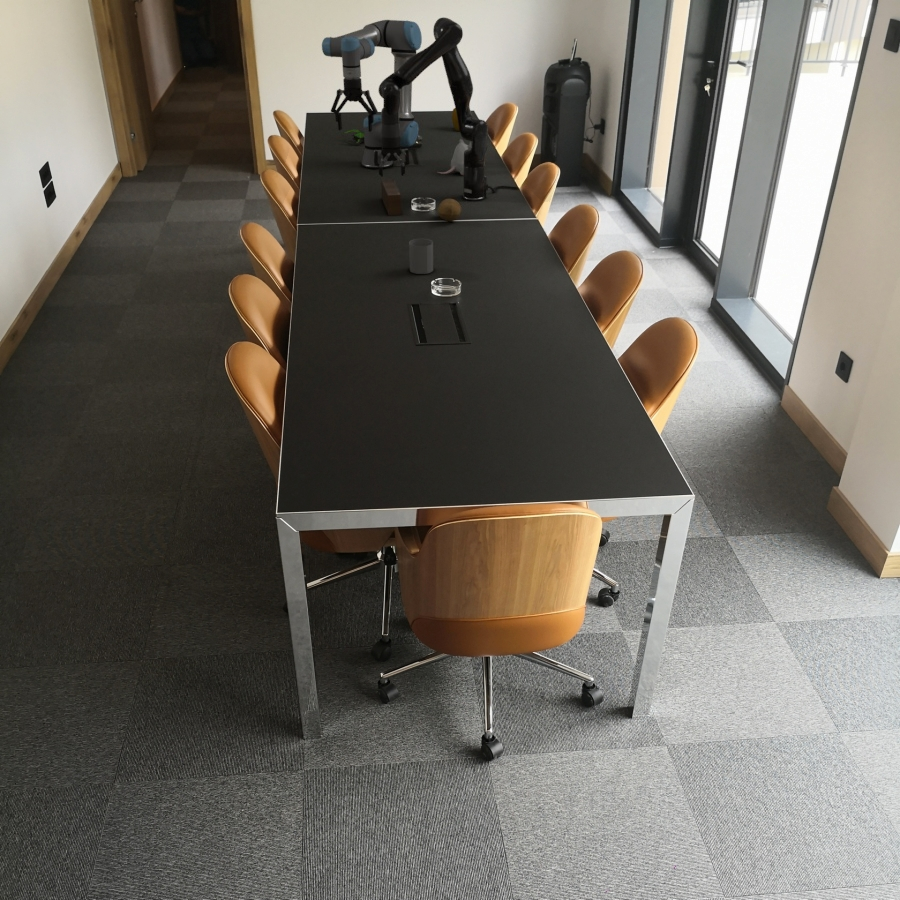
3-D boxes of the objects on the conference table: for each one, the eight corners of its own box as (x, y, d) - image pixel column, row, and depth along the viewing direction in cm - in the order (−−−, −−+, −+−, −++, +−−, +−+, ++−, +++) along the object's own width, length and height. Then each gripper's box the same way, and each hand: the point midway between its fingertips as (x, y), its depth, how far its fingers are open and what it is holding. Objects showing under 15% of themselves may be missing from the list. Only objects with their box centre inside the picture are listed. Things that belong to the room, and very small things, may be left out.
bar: (381, 199, 380) (381, 179, 376) (394, 198, 381) (393, 179, 377) (388, 215, 361) (387, 195, 356) (401, 214, 362) (400, 194, 357)
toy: (478, 172, 417) (478, 139, 409) (444, 182, 402) (444, 148, 394) (464, 168, 422) (464, 136, 414) (430, 178, 407) (430, 145, 399)
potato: (459, 214, 362) (459, 195, 357) (462, 225, 350) (462, 205, 346) (436, 214, 361) (436, 195, 357) (438, 225, 349) (438, 205, 345)
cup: (409, 265, 311) (408, 238, 306) (432, 265, 312) (431, 238, 307) (410, 274, 304) (409, 246, 299) (433, 273, 305) (433, 246, 299)
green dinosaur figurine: (399, 126, 467) (343, 124, 465) (399, 141, 460) (342, 139, 458) (399, 136, 472) (343, 133, 470) (399, 151, 465) (342, 149, 463)
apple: (471, 132, 486) (471, 108, 479) (451, 132, 486) (451, 108, 479) (470, 128, 495) (471, 104, 488) (452, 128, 495) (452, 104, 488)
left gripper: (321, 78, 363) (325, 131, 375) (378, 80, 359) (380, 133, 371) (326, 75, 369) (330, 127, 381) (383, 77, 365) (385, 129, 377)
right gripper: (374, 137, 343) (375, 179, 352) (409, 136, 345) (410, 177, 354) (372, 133, 349) (373, 174, 358) (406, 132, 352) (407, 172, 360)
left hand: (355, 130), depth 376 cm, fingers open, 13 cm apart
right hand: (392, 175), depth 356 cm, fingers open, 8 cm apart
